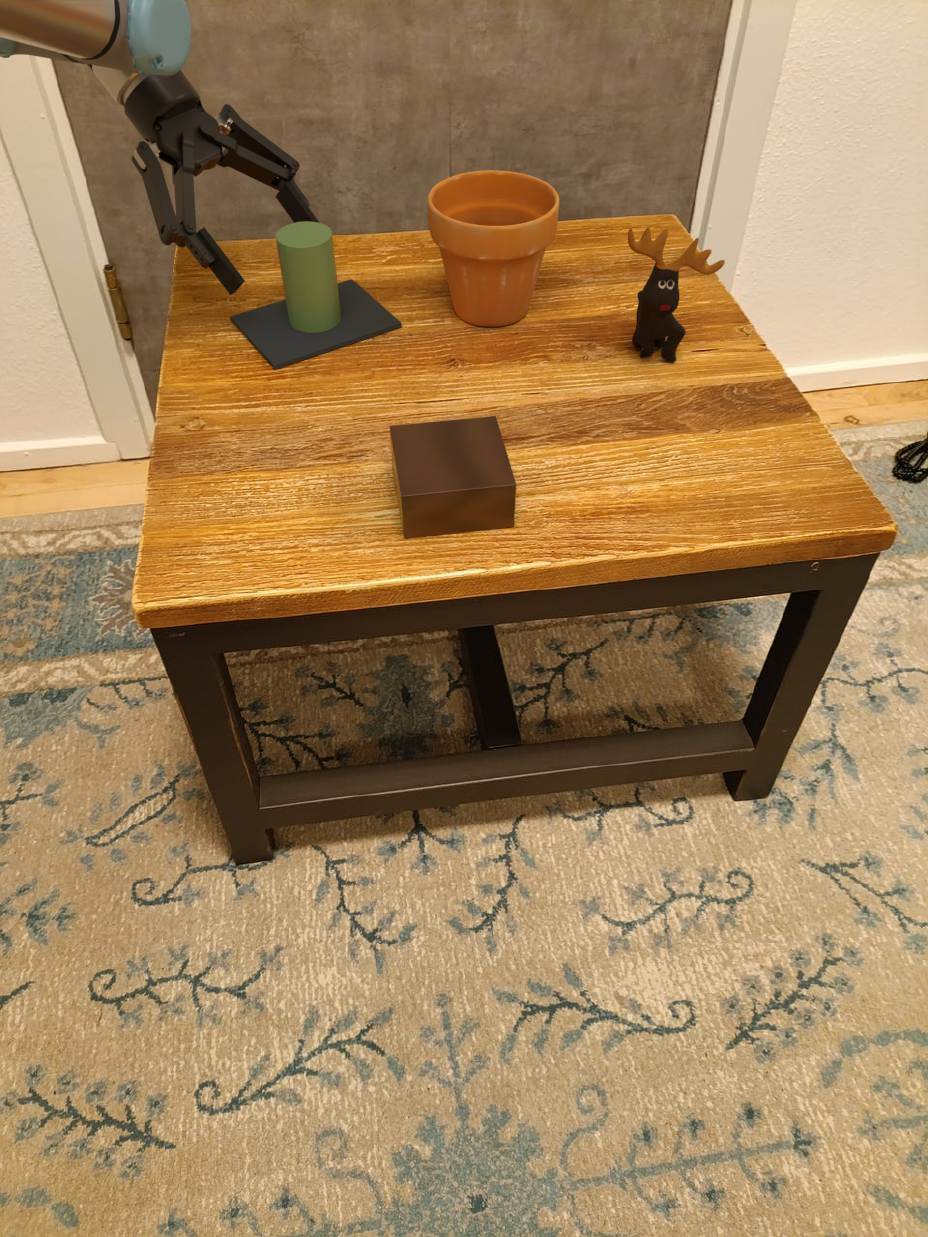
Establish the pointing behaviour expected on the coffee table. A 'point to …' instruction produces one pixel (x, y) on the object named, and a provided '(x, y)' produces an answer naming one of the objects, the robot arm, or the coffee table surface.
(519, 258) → the flower pot
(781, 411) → the coffee table surface
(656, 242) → the figurine
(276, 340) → the slate mat
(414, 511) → the dark brown square block
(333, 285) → the green canister
